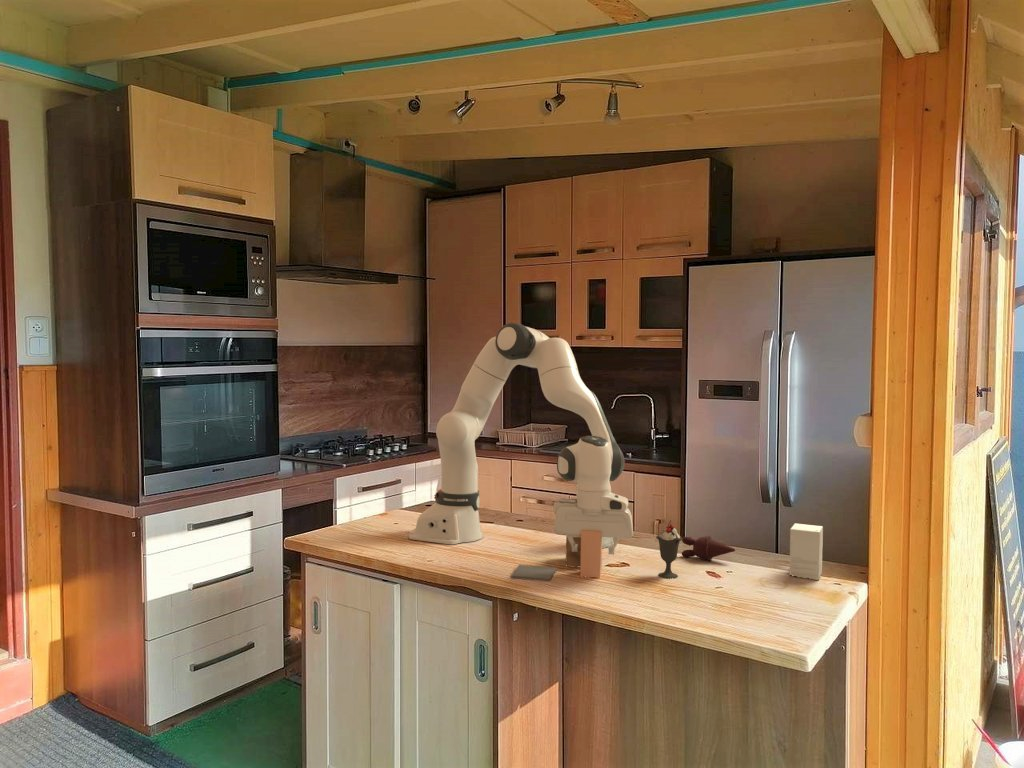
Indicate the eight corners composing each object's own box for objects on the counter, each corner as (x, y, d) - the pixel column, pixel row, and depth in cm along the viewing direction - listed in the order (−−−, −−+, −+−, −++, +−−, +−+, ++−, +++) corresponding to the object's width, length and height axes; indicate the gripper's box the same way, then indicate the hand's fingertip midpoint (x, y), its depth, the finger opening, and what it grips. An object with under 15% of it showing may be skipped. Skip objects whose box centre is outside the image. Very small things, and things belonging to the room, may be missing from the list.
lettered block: (565, 566, 211) (566, 536, 211) (570, 557, 219) (570, 529, 219) (595, 568, 209) (596, 538, 209) (598, 559, 217) (599, 531, 217)
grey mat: (510, 578, 200) (510, 575, 200) (518, 566, 210) (519, 564, 210) (549, 581, 198) (549, 578, 198) (556, 569, 208) (556, 567, 208)
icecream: (738, 537, 219) (685, 534, 226) (731, 536, 212) (677, 533, 220) (738, 563, 217) (685, 559, 225) (731, 562, 211) (677, 559, 219)
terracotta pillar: (580, 576, 202) (581, 530, 201) (582, 571, 207) (583, 526, 206) (599, 578, 201) (600, 531, 200) (601, 572, 206) (602, 527, 205)
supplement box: (822, 573, 207) (824, 526, 207) (818, 580, 201) (820, 531, 200) (793, 569, 211) (794, 522, 210) (788, 576, 204) (789, 528, 204)
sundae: (666, 581, 199) (667, 522, 198) (650, 573, 205) (651, 516, 204) (686, 577, 202) (688, 519, 201) (670, 570, 208) (671, 514, 207)
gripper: (551, 500, 202) (551, 553, 203) (632, 504, 198) (631, 558, 199) (555, 495, 208) (555, 547, 209) (633, 499, 204) (633, 551, 205)
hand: (593, 552), depth 204 cm, fingers open, 8 cm apart
